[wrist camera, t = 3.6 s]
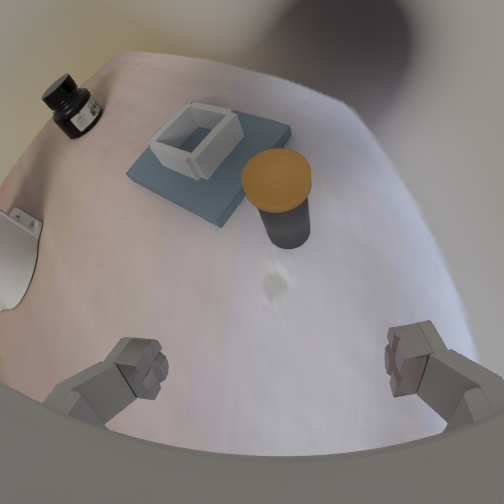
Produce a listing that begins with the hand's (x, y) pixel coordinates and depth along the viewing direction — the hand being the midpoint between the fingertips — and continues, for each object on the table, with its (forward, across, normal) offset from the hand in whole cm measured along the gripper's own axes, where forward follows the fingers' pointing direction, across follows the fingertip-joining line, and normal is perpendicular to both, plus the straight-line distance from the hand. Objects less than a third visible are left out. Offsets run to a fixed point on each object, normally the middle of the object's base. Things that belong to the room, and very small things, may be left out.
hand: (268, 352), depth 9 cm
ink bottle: (+40, +38, -19) cm, 58 cm away
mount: (+26, +9, -6) cm, 29 cm away
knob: (+18, 0, +2) cm, 18 cm away
